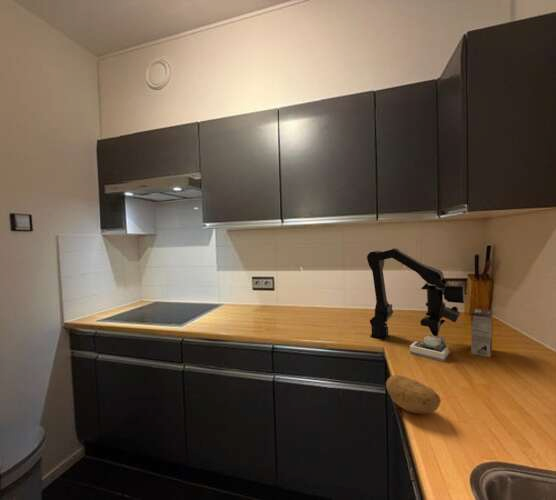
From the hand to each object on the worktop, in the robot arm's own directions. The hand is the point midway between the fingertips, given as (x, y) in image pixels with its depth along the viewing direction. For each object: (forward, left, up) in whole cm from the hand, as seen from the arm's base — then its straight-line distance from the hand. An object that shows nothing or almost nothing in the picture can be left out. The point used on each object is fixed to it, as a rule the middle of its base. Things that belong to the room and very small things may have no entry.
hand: (435, 337), depth 120 cm
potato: (+7, -49, -4) cm, 50 cm away
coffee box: (+15, +6, -4) cm, 17 cm away
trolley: (0, -5, -3) cm, 6 cm away
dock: (0, -6, -4) cm, 7 cm away
